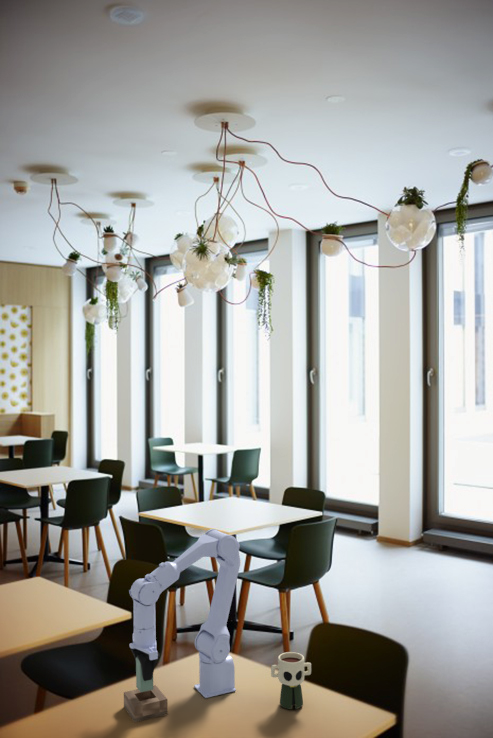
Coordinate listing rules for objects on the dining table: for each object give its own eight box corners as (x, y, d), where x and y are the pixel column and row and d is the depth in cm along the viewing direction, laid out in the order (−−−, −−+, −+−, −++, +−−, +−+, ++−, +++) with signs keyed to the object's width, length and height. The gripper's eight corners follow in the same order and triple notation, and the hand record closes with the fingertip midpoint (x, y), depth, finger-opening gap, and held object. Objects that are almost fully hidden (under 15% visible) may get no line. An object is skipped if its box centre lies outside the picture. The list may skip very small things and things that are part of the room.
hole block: (155, 699, 198) (155, 685, 198) (167, 714, 190) (167, 699, 190) (123, 707, 194) (123, 692, 194) (134, 722, 186) (134, 706, 186)
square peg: (148, 684, 194) (148, 654, 194) (153, 689, 191) (153, 659, 191) (136, 686, 193) (136, 656, 192) (140, 692, 189) (140, 661, 189)
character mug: (273, 713, 190) (273, 664, 190) (268, 700, 197) (268, 653, 197) (314, 710, 191) (314, 661, 191) (308, 697, 199) (308, 650, 198)
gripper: (121, 619, 196) (122, 669, 196) (138, 638, 183) (139, 691, 183) (146, 614, 199) (147, 663, 200) (165, 633, 186) (165, 685, 187)
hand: (145, 676), depth 192 cm, fingers closed on square peg, 3 cm apart
